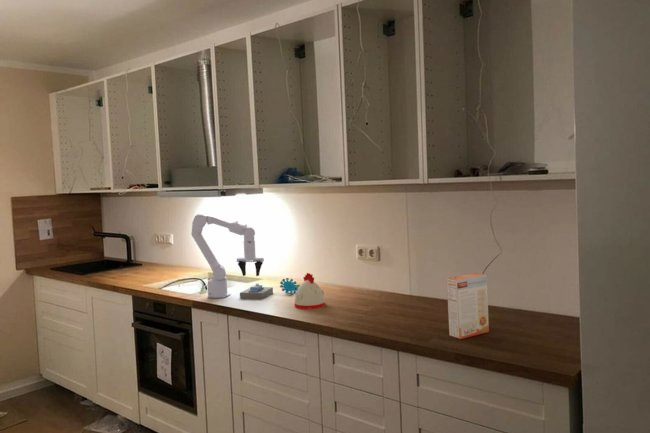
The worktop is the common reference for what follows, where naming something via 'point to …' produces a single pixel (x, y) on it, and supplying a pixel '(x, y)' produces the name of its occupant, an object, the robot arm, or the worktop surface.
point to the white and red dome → (309, 294)
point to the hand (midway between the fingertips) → (251, 275)
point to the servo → (256, 288)
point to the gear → (289, 286)
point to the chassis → (256, 293)
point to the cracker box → (467, 305)
